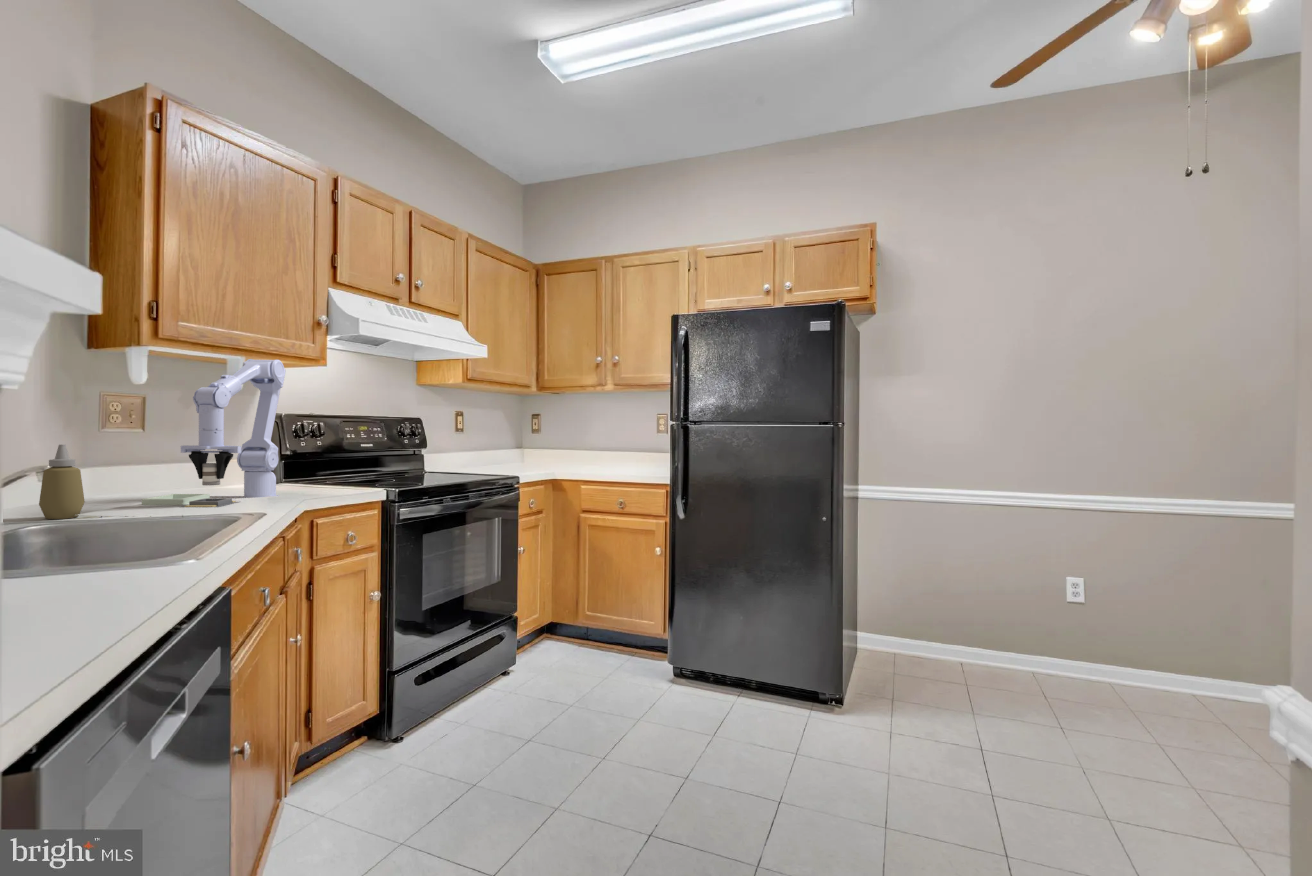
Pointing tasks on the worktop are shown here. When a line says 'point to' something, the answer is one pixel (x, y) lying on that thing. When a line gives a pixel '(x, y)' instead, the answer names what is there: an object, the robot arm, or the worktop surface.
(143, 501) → the parts tray
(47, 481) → the squeeze bottle
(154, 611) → the worktop surface
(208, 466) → the cylinder
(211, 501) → the fuse holder
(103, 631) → the worktop surface
